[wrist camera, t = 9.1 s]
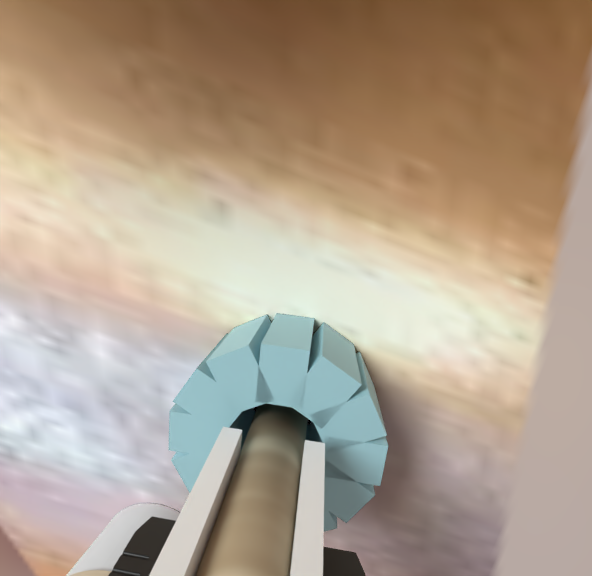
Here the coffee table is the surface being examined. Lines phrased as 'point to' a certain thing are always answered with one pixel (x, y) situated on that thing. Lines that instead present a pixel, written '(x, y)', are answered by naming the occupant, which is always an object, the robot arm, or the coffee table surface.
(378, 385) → the coffee table surface
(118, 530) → the coffee cup
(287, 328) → the bead
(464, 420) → the coffee table surface
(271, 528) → the tan cylindrical rod
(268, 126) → the coffee table surface
